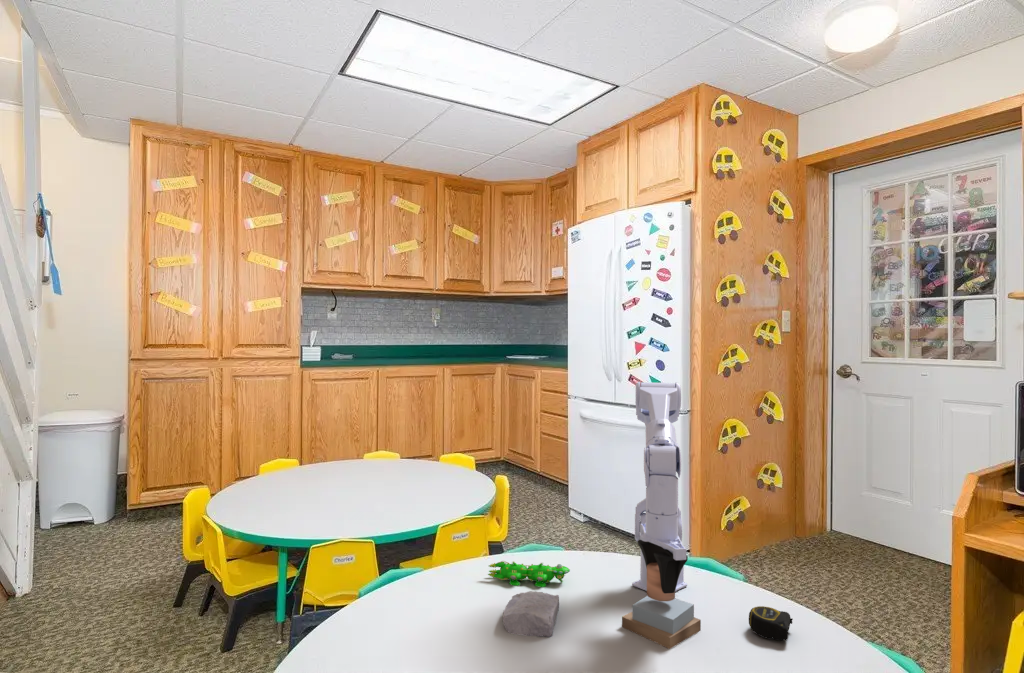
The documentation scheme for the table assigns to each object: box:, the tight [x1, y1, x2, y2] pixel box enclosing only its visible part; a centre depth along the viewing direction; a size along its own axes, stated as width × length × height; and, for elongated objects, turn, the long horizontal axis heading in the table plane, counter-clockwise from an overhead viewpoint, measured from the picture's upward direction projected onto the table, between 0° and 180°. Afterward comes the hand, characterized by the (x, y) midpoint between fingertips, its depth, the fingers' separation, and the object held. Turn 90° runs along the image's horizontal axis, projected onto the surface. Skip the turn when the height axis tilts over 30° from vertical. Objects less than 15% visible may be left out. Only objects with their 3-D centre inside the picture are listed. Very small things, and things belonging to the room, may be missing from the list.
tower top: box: [631, 595, 695, 634], centre depth 101 cm, size 8×8×2 cm
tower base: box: [621, 611, 702, 650], centre depth 102 cm, size 10×10×2 cm
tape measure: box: [748, 605, 794, 641], centre depth 100 cm, size 7×7×4 cm
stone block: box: [502, 590, 560, 638], centre depth 104 cm, size 12×5×10 cm
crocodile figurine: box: [487, 560, 571, 588], centre depth 122 cm, size 7×18×4 cm, turn 85°
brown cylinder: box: [646, 562, 676, 601], centre depth 102 cm, size 5×5×5 cm
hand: (661, 586), depth 102 cm, fingers closed on brown cylinder, 5 cm apart
